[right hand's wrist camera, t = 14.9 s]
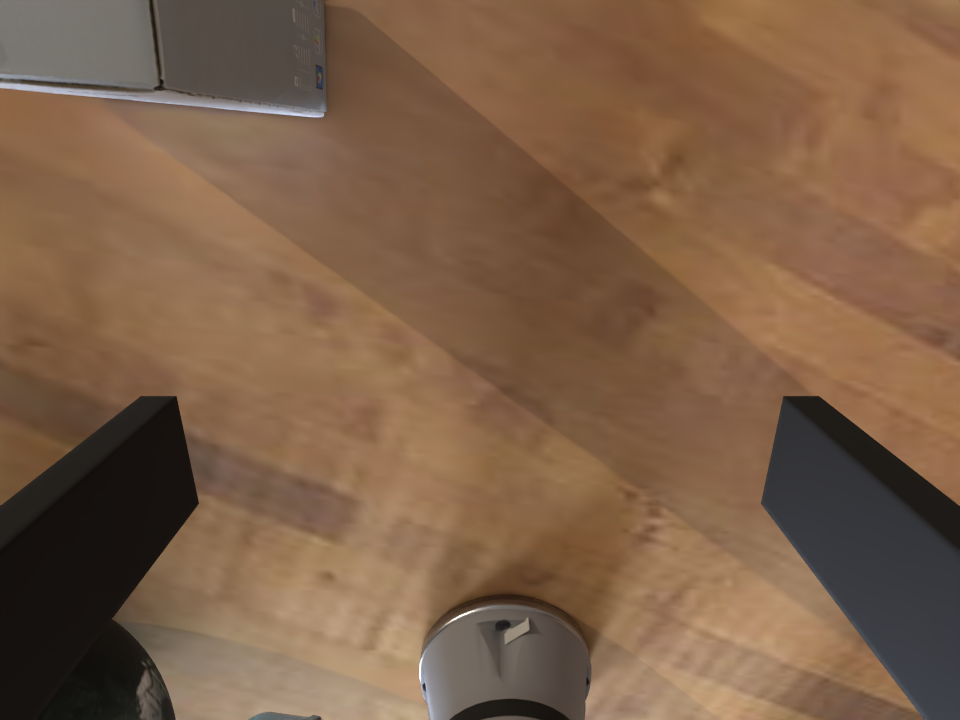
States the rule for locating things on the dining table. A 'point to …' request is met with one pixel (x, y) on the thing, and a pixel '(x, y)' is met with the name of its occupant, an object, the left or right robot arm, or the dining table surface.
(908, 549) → the right robot arm
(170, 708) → the sphere
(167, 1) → the hard drive box
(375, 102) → the dining table surface
